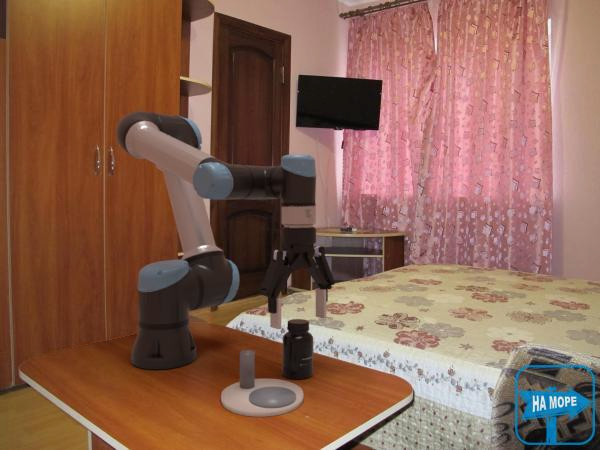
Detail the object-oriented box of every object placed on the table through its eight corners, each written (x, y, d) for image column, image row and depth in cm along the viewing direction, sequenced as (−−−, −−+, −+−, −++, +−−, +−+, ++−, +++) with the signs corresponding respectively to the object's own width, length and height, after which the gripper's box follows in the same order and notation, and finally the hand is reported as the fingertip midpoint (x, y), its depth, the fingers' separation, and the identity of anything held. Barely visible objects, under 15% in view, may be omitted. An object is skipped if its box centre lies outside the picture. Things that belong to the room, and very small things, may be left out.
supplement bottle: (309, 381, 106) (310, 326, 105) (279, 378, 107) (279, 324, 107) (315, 370, 113) (315, 318, 112) (286, 368, 114) (286, 316, 113)
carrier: (205, 397, 97) (205, 357, 97) (268, 377, 108) (268, 341, 108) (255, 425, 85) (255, 380, 85) (320, 399, 96) (320, 359, 96)
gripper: (265, 229, 97) (266, 336, 98) (349, 224, 114) (349, 315, 115) (242, 227, 102) (243, 329, 103) (326, 223, 119) (326, 310, 120)
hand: (299, 322), depth 109 cm, fingers open, 13 cm apart
